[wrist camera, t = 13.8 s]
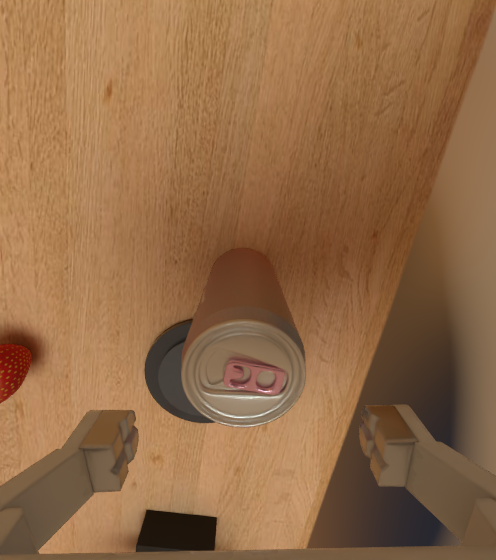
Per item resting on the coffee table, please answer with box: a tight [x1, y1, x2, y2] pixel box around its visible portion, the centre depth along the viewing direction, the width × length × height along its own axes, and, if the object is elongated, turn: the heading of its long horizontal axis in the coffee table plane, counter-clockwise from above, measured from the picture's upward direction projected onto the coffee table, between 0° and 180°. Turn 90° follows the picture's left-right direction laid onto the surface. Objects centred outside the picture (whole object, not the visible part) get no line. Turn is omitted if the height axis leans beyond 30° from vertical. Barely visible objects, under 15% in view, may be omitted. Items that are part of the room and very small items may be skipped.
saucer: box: [145, 320, 215, 423], centre depth 30 cm, size 12×12×1 cm
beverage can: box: [181, 248, 306, 427], centre depth 20 cm, size 6×6×15 cm
